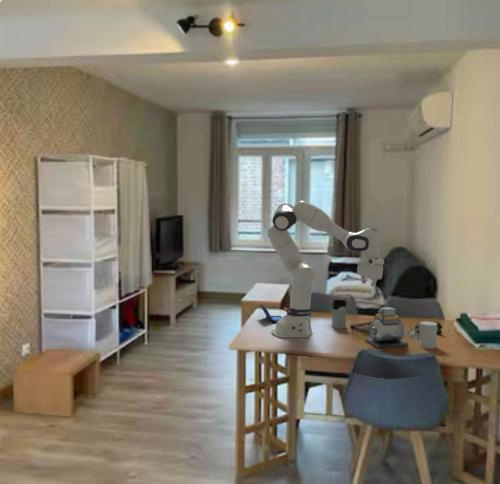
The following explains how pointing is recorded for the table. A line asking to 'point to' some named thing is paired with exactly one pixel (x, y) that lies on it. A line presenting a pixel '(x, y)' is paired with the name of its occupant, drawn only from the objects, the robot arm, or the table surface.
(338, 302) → the glass holder
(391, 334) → the motor
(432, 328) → the cup
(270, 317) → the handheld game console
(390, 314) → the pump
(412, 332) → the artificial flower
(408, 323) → the table surface
